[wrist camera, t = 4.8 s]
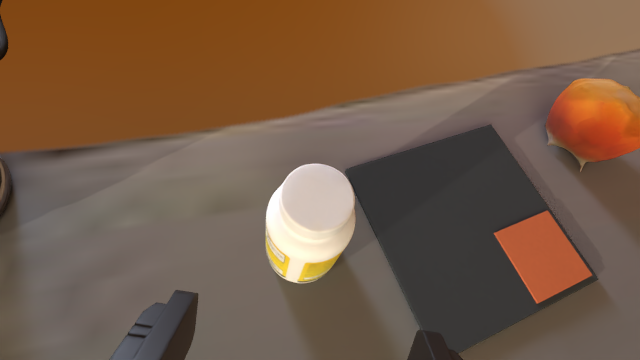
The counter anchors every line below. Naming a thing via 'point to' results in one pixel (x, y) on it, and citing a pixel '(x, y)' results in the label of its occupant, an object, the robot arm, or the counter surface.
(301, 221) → the supplement bottle
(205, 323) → the counter surface
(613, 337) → the counter surface
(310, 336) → the counter surface
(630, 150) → the fruit
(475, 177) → the corner mat
